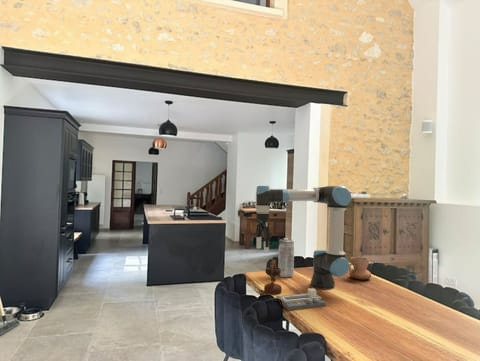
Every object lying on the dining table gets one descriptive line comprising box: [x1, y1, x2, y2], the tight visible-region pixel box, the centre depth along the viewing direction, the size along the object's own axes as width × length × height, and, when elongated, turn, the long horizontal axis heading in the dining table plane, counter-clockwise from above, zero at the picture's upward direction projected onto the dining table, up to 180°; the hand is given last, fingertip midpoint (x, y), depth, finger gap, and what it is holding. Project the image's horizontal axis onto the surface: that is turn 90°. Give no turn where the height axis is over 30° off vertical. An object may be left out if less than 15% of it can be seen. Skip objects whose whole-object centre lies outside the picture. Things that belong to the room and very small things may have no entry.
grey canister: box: [277, 237, 295, 278], centre depth 226 cm, size 9×10×27 cm
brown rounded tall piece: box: [263, 258, 283, 296], centre depth 191 cm, size 15×11×20 cm
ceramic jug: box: [348, 256, 372, 281], centre depth 222 cm, size 18×14×14 cm
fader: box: [307, 287, 317, 298], centre depth 174 cm, size 3×4×5 cm
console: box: [275, 292, 327, 311], centre depth 172 cm, size 22×16×4 cm
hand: (262, 250), depth 177 cm, fingers open, 13 cm apart
